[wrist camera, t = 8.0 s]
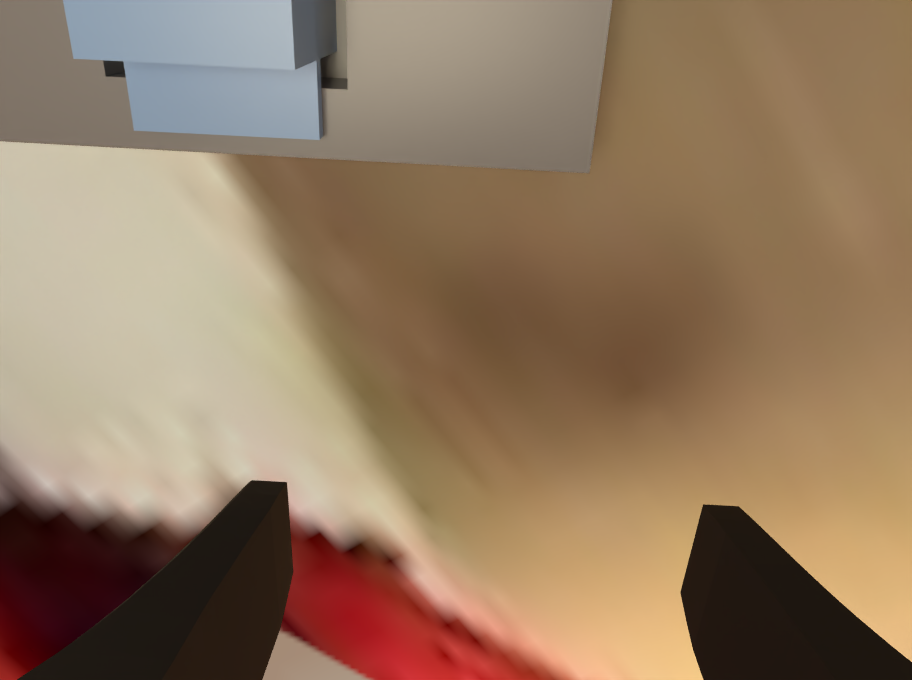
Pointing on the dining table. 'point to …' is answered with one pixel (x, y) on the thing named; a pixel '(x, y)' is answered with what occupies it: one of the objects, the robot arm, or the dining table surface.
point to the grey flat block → (357, 86)
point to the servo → (213, 61)
